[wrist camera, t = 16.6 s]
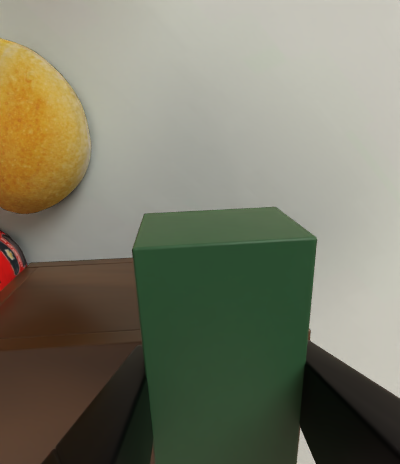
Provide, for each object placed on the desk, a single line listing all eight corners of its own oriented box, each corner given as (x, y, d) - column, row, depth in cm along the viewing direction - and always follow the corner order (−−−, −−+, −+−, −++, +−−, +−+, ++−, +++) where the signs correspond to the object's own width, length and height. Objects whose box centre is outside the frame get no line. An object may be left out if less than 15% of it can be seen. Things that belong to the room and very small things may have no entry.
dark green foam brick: (266, 416, 11) (293, 499, 8) (163, 426, 11) (160, 515, 8) (276, 206, 9) (318, 237, 6) (143, 213, 8) (131, 248, 6)
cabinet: (249, 441, 26) (283, 583, 18) (70, 457, 25) (20, 615, 17) (257, 251, 21) (311, 330, 13) (30, 262, 20) (-71, 355, 12)
